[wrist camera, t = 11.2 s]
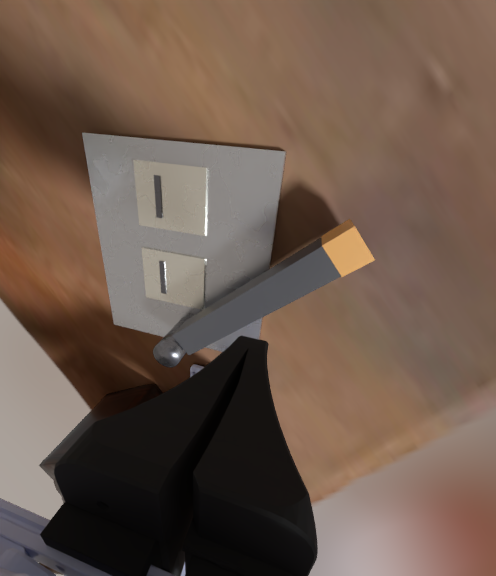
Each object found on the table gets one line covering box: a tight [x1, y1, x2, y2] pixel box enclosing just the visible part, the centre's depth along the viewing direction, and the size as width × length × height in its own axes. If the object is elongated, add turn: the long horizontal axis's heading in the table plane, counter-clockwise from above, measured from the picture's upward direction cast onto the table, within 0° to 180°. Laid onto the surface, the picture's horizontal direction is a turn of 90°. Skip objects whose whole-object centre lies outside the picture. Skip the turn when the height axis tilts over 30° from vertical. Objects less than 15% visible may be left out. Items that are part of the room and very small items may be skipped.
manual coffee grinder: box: [39, 384, 163, 575], centre depth 27 cm, size 16×11×18 cm
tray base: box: [82, 133, 286, 367], centre depth 20 cm, size 18×16×5 cm
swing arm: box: [172, 219, 375, 355], centre depth 18 cm, size 16×2×2 cm, turn 127°
